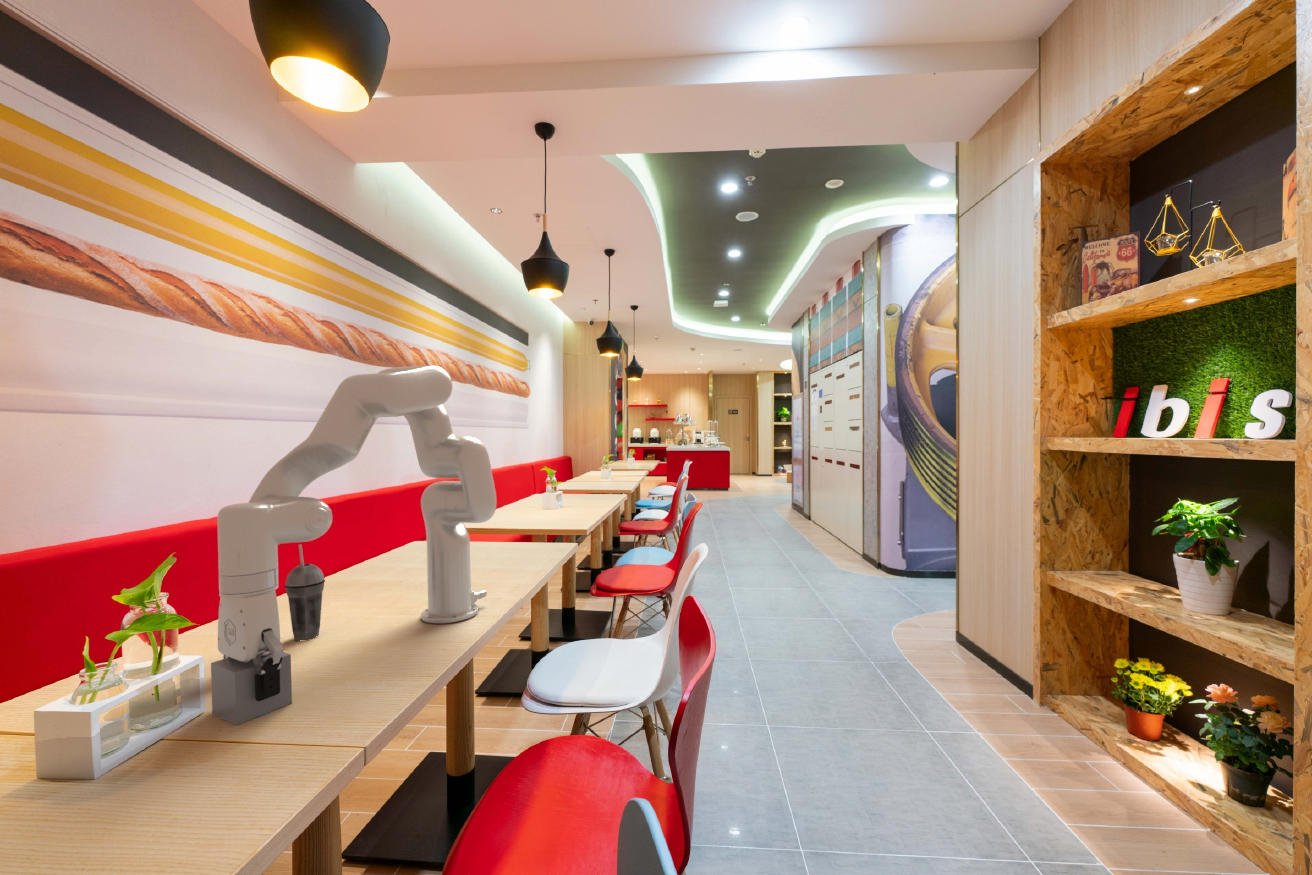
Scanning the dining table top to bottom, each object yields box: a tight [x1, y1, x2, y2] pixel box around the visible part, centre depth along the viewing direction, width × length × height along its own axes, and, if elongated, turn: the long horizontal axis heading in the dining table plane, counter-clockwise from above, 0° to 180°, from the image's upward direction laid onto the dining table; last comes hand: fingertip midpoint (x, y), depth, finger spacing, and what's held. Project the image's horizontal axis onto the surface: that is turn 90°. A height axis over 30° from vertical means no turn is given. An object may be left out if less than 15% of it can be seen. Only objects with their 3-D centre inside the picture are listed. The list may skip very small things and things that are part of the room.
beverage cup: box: [284, 544, 326, 642], centre depth 118 cm, size 7×7×20 cm
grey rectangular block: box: [210, 651, 293, 726], centre depth 87 cm, size 8×8×8 cm
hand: (252, 690), depth 87 cm, fingers open, 9 cm apart
